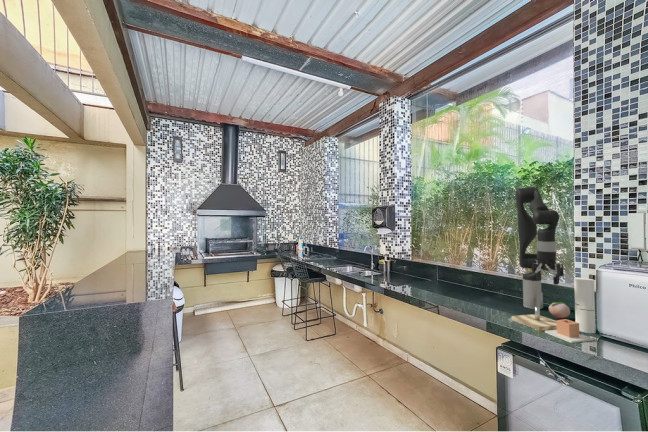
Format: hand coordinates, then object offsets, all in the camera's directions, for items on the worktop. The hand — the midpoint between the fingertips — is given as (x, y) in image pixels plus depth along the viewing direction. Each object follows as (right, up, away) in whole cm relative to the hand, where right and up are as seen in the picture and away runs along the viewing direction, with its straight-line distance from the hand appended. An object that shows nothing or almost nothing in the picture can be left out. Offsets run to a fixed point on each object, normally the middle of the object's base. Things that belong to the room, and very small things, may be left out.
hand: (547, 282), depth 140 cm
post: (0, -21, +6) cm, 22 cm away
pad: (+2, -23, -10) cm, 25 cm away
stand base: (0, -23, +6) cm, 24 cm away
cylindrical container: (+16, -23, -3) cm, 28 cm away
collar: (+1, -22, -10) cm, 24 cm away
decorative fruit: (+17, -23, +12) cm, 31 cm away
